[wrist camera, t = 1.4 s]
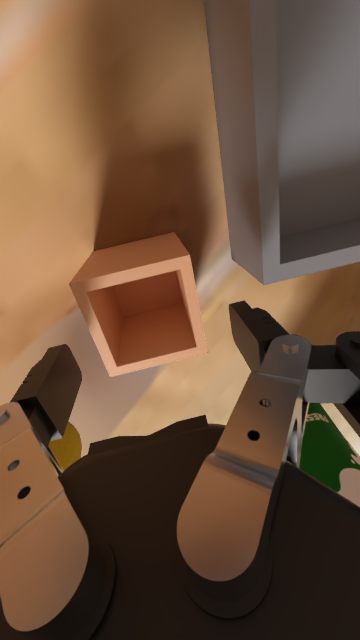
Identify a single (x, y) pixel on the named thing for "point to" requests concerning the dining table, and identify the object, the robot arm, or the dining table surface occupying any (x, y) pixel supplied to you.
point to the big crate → (288, 131)
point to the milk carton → (329, 455)
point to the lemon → (67, 447)
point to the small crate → (141, 304)
